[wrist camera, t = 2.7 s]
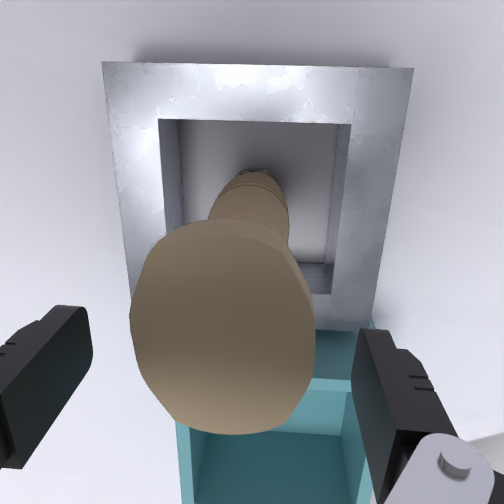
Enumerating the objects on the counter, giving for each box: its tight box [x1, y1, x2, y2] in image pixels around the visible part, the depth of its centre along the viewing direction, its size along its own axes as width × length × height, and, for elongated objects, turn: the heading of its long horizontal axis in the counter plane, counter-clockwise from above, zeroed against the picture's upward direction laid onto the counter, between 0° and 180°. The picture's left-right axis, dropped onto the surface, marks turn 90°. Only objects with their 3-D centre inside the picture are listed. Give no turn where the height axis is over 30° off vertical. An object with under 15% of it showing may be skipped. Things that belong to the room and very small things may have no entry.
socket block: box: [102, 62, 414, 332], centre depth 22 cm, size 14×14×4 cm
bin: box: [175, 318, 376, 504], centre depth 26 cm, size 12×12×7 cm
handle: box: [129, 169, 316, 435], centre depth 17 cm, size 5×6×15 cm
